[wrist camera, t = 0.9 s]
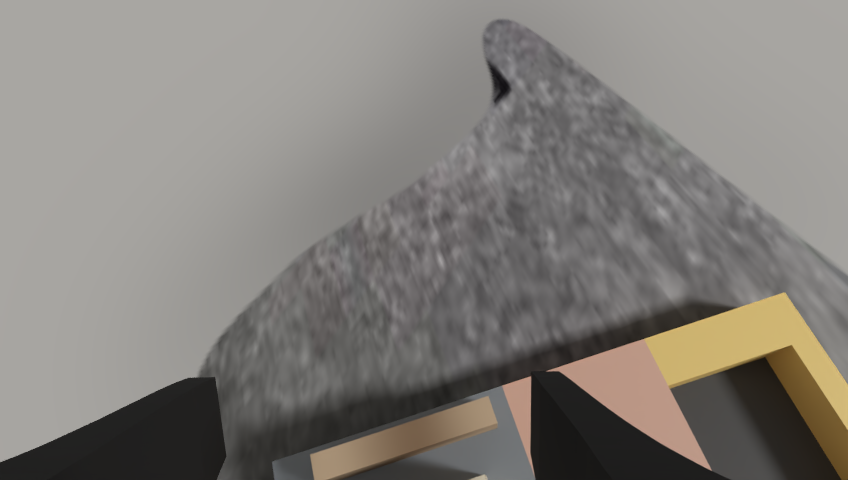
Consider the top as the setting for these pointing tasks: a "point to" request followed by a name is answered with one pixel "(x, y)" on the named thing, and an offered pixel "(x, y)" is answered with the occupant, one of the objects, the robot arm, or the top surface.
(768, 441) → the board
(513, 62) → the top surface
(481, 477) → the birch block
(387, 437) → the channel walls
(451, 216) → the top surface
